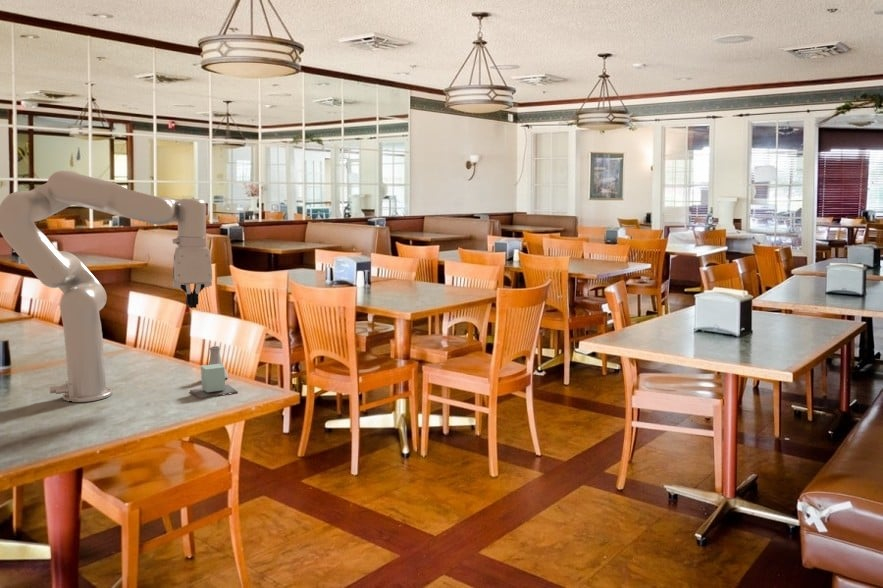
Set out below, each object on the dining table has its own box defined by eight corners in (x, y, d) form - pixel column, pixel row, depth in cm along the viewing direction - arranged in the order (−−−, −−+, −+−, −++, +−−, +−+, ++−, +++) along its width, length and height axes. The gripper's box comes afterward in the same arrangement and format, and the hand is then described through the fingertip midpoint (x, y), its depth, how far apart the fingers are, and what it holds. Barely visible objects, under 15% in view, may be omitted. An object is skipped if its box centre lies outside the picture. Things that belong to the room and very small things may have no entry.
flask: (221, 382, 228) (219, 350, 227) (199, 381, 230) (197, 349, 228) (232, 376, 235) (231, 345, 234) (211, 375, 237) (209, 344, 235)
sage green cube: (206, 392, 214) (205, 369, 213) (201, 388, 218) (200, 365, 217) (225, 389, 216) (224, 367, 215) (220, 385, 221) (219, 363, 220)
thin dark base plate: (198, 399, 211) (197, 374, 210) (190, 391, 218) (188, 367, 217) (237, 393, 217) (236, 369, 216) (228, 386, 224) (227, 363, 223)
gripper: (167, 244, 207) (167, 310, 209) (222, 243, 214) (222, 308, 217) (161, 241, 213) (162, 306, 215) (215, 241, 221) (215, 304, 223)
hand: (192, 307), depth 216 cm, fingers closed
